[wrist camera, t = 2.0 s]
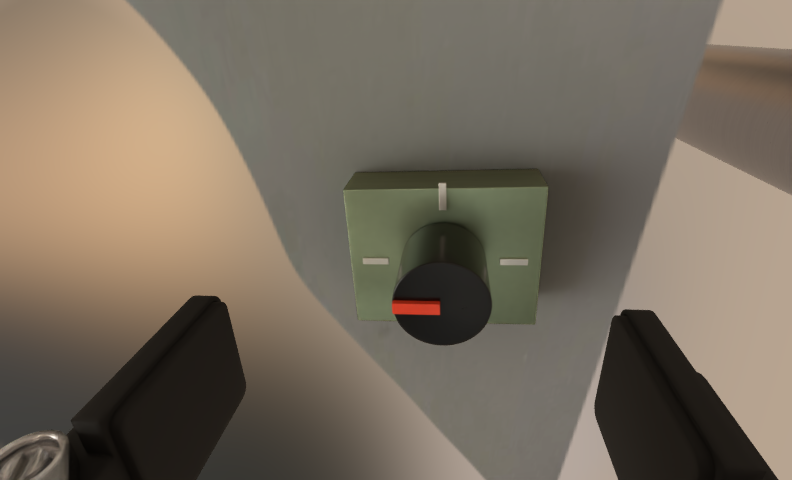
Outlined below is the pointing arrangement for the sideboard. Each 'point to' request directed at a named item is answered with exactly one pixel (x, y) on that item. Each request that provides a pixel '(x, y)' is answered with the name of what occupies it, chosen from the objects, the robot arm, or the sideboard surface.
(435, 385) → the sideboard surface
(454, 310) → the knob
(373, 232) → the panel
